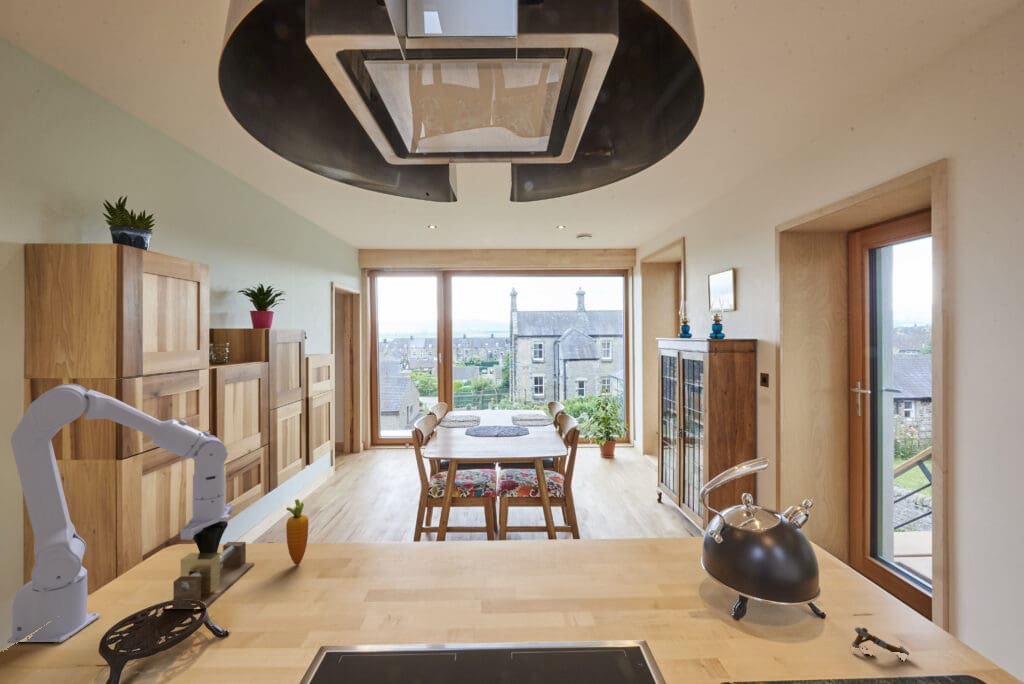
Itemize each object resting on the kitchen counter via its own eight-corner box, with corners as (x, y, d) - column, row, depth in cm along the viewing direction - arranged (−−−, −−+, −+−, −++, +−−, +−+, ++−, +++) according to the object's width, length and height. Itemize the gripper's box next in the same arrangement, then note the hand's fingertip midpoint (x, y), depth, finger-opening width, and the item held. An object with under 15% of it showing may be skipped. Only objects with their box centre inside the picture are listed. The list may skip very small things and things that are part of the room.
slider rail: (204, 609, 90) (204, 581, 90) (162, 610, 90) (163, 581, 90) (254, 565, 108) (254, 541, 108) (219, 565, 108) (219, 541, 108)
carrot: (303, 570, 106) (303, 504, 106) (281, 570, 106) (281, 504, 106) (312, 560, 111) (313, 497, 111) (292, 560, 111) (292, 497, 111)
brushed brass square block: (210, 592, 94) (210, 559, 94) (180, 592, 94) (180, 559, 94) (219, 584, 97) (219, 552, 97) (190, 585, 97) (190, 552, 97)
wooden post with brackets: (842, 644, 80) (854, 621, 79) (890, 668, 78) (902, 645, 78) (848, 651, 78) (860, 627, 78) (897, 676, 77) (910, 652, 76)
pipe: (189, 592, 90) (189, 581, 90) (178, 592, 90) (178, 581, 90) (241, 550, 108) (241, 541, 108) (232, 550, 108) (232, 541, 108)
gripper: (206, 507, 91) (206, 576, 91) (247, 484, 105) (246, 544, 105) (169, 507, 91) (169, 577, 91) (215, 484, 105) (215, 544, 105)
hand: (208, 559), depth 98 cm, fingers closed
